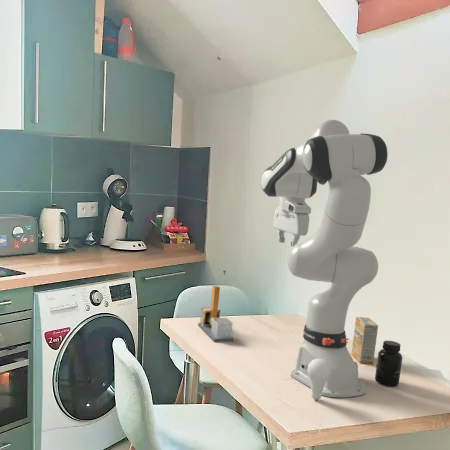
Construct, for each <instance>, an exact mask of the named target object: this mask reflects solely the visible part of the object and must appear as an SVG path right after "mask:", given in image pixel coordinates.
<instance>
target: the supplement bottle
mask: <svg viewBox="0 0 450 450" xmlns="http://www.w3.org/2000/svg"><path fill="white" fill-rule="evenodd" d="M382 342H383V344H382V349H380V350H379V351H378V353H377V359H376V368H375V375H374V381H375V382H376V383H378V384H380V385H382V386H384V385H385V387H389V386H390V388H391V387H392V388H394V387H397V386H399V384H400V379H401V370H402V365H403V364H402V363H403V355H402V354H401V343H400V342H397V341H393V340H384V341H382Z"/></svg>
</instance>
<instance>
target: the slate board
mask: <svg viewBox="0 0 450 450" xmlns="http://www.w3.org/2000/svg"><path fill="white" fill-rule="evenodd" d="M197 326H198V327H199V328H200V329H201V330H202V332H204V334H206V336H208V337H209V339H210V340H211V341H212V342H213V343H222V342H223V343H224V342H227V343H228V342H234V339H235V338H234V337H232V336H231V338H229V339H216V338H215V337H214V336H213V335H212V334H211V328H212V326H202V325H201V324H200V322H198V323H197Z"/></svg>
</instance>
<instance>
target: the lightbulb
mask: <svg viewBox="0 0 450 450" xmlns="http://www.w3.org/2000/svg"><path fill="white" fill-rule="evenodd" d="M307 371H308V375H309V378H310V380H311V388H310V390H311V394H310V395H311V398H312V399H314V401H318V400H320V399H322V396H323V395H322V391H323V388H324V385H325V383H326V381H327V380H328V379H329V377H330V375H331V367H330V365H329V363H328V362H327V361H325V360H324V359H320V358H318V359H314V360H312V361H311V362H310V363H309V365H308V369H307Z"/></svg>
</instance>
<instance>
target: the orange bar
mask: <svg viewBox="0 0 450 450" xmlns="http://www.w3.org/2000/svg"><path fill="white" fill-rule="evenodd" d="M220 289H221V287H220V286H219V285H212V289H211V299H210V307H211V308H210V313H208V314H207V315H206V321H207V322H208V323H209V324H210V325H211V326H212V318H218V317H217V313H218V308H219V300H220V291H221V290H220Z"/></svg>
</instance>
